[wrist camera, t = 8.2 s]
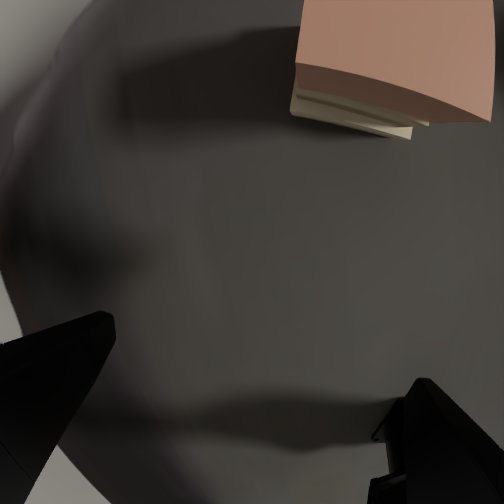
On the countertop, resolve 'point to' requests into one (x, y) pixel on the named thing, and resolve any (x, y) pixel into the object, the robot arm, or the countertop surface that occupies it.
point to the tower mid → (361, 108)
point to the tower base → (345, 118)
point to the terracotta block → (402, 55)
